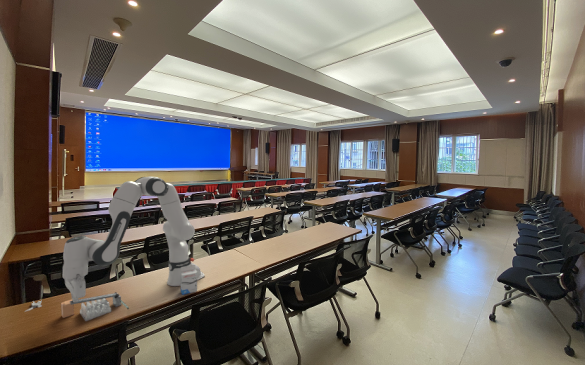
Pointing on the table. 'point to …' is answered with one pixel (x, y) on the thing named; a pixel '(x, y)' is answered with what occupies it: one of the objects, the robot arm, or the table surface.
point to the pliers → (35, 305)
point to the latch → (67, 308)
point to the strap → (95, 298)
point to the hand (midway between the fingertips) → (74, 301)
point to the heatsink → (98, 308)
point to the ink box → (188, 279)
